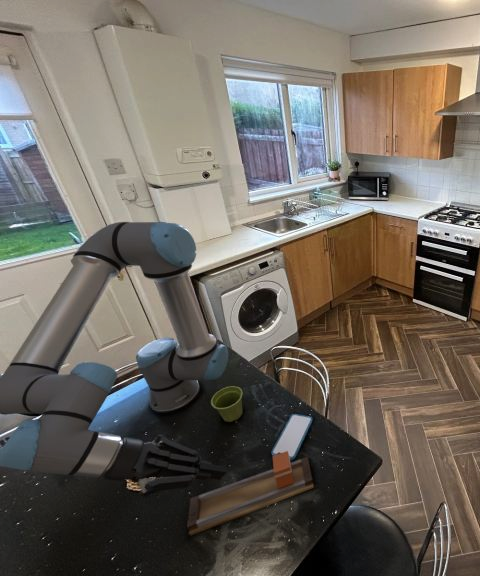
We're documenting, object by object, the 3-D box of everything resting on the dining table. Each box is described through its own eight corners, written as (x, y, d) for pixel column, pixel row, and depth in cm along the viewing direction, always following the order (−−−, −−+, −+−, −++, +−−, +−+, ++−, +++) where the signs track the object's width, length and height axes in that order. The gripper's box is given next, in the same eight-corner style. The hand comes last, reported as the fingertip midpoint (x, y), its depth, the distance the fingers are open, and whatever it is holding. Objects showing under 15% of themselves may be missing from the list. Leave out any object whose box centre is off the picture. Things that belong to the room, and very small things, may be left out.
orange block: (277, 475, 87) (271, 455, 83) (292, 469, 88) (288, 450, 84) (278, 492, 83) (273, 473, 79) (294, 486, 84) (290, 467, 80)
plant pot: (236, 429, 101) (230, 411, 97) (211, 423, 102) (204, 405, 98) (253, 406, 109) (248, 388, 105) (229, 401, 110) (223, 384, 106)
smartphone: (313, 417, 104) (293, 458, 91) (313, 419, 105) (294, 461, 92) (292, 413, 105) (270, 453, 92) (292, 415, 106) (270, 456, 93)
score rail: (194, 502, 82) (190, 496, 80) (308, 461, 92) (307, 455, 90) (190, 535, 75) (186, 529, 74) (313, 487, 85) (312, 481, 84)
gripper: (111, 441, 68) (215, 459, 81) (88, 502, 57) (212, 510, 71) (131, 417, 67) (232, 440, 81) (112, 474, 56) (232, 488, 70)
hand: (223, 473), depth 76 cm, fingers closed
